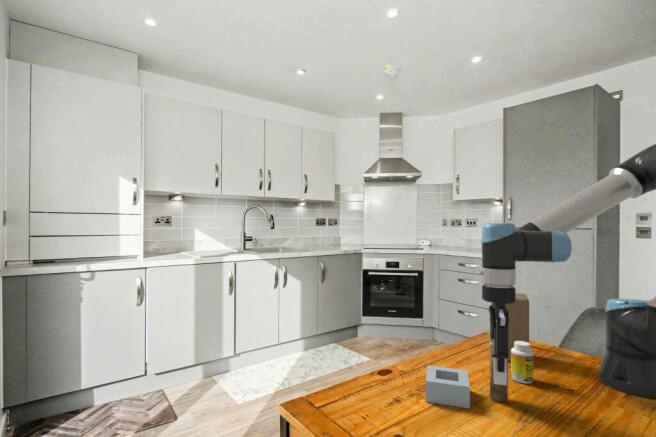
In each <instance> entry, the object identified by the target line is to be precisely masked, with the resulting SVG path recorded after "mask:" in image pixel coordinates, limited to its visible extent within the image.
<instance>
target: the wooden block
mask: <svg viewBox="0 0 656 437" xmlns="http://www.w3.org/2000/svg"><path fill="white" fill-rule="evenodd" d="M505 306H506V309H507V310H508V312H509V317H508V318H509V326H508V355H509V357H508V362H510V363H511V349H512V348H514V342H515V341H524V342H528V343H530V300H529V298H528V296H527V294H525V293H518V292H516V301H515V302H514V303H511V304H509V303H508V304H506V305H505Z"/></svg>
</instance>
